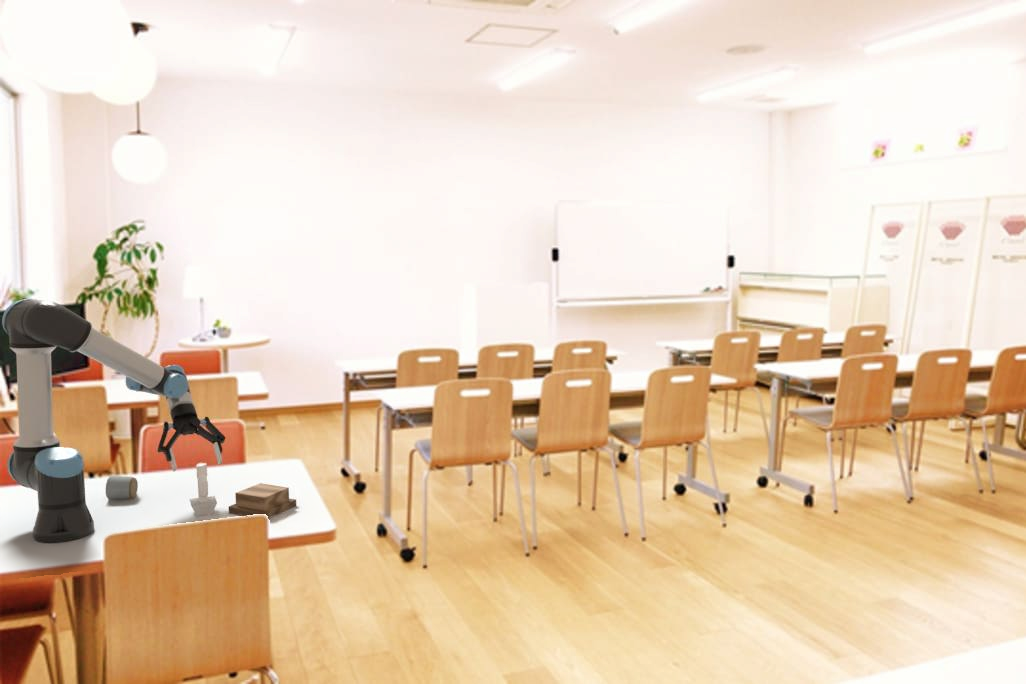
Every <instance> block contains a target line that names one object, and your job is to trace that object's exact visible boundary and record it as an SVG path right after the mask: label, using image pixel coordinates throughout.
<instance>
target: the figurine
mask: <svg viewBox="0 0 1026 684" xmlns="http://www.w3.org/2000/svg"><path fill="white" fill-rule="evenodd" d="M195 468H196V479H197V491H198V493H197V494H198V497H196V498H189V502H190V506H191V508H192V510H193V511H194V514H195V515H196V516H198V517H199V516H207V515H212V514H213V513H214V511H215V509H216V506H217V505H218V501H217V498H216V496H215V495H212V496H209V483H208V482H209V481H208V464H207V463H206V462H198V463H196V465H195Z"/></svg>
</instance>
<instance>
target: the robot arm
mask: <svg viewBox="0 0 1026 684" xmlns="http://www.w3.org/2000/svg"><path fill="white" fill-rule="evenodd" d="M1 325H2V328H3V330H4V331H5V333H6V334H7V335H8V336H9V349H10V350H12V352H14V353H15V354H16V376H17V377H16V378H17V379H16V382H17V384H16V385H17V409H18V410H17V411H18V435H19V436H18V438H17V439H16V440H15V441H14V442H13V445H12V450H13V451H12V453H10V455H9V458H8V461H7V471H8V472H7V473H8V474H9V476H10V477H11V478H12V480H14V481H15V483H17V484H19V485H20V486H22V487H24V488H28V489H31V490H34V491H36V492H37V504H38V511H37V514H36V515H37V516H36V518H35V522H34V526H33V528H32V529H33V530H32V536H33V540H35V541H37V542H40V543H60V542H61V543H62V542H69V541H73V540H78V539H80V538H83V537H87V536H88V535H90V534H92V533H93V532H94V530H95V522H94V519H93V517H92V515H91V512H90V510H89V507H88V506H87V504H86V503H87V501H86V487H85V484H86V483H85V470H84V469H85V462H84V459H83V454H82V453H81V451H79V450H77V449H76V448H72V447H63V446H60V445H61V444H60V443H61V442H60V439H59V438H58V437H56V436H55V435H54V414H53V413H54V409H53V385H52V384H53V377H52V352H53V351H54V350H55V349H56V348H57V347H60V348H62V349H64V350H66V351H68V352H70V353H75V352H78V353H80V354H82V355H84V356H85V357H86V356H87V357H88V358H90V359H92V360H94V361H96V362H98V363H99V364H101V365H104V366H106V367H107V368H108V369H111V370H113V371H115V372H117V373H119V374H121V375H122V376H124V377H125V386H126V387H127V389H128V390H130V391H136V392H141V393H148V394H151V395H157V396H162V397H165V400H166V402H167V406H168V409H169V413H170V418H171V421H172V423H171V422H168V421H164V422H163V426H162V429H163V430H162V435H161V438H160V440H159V443H158V447H157V449H156V450H157V452H158V453H163V454H164V456H165V460H166V462H170V465H171V470H172V472H176V471H177V468H178V466H177V461H176V457H175V454H174V451H173V450H174V449H173V448H172V447H173V446H174V444H175V442H176V441H177V440H178V439H179V437H180V435H182V436H188V435H194V434H196V435H198V436H200V437H202V438H203V439H205V440H207V441H208V442H210V444H212V445H213V446H212V447H213V451H214V454H215V457H216V462H217V465H222V462H223V457H222V454H223V446H222V444H224V443H225V440H226V436H225V435H224V434H223V433H222V432H221V431H220V430H219V429H218V428H217V427H216V426H215V425H214V424H213V423H212V422H211V420H210V418H209V417H208V416H205V417H204V418H202V419H199V417H198V414H197V410H196V407H195V404H194V400H193V397H192V394H191V391H190V386H189V380H188V377H187V375H186V373H185V370H184V368H183V367H182V366H181V365H177V364H172V365H171V364H170V365H167V366H165V367H163V366H162V365H160V364H158V363H157V362H154V361H153V360H151V359H149V358H147V357H146V356H144V355H142V354H141V353H138V352H137V351H135V350H133V349H131V348H129V347H128V346H126V345H124V344H122V343H121V342H119V341H117V340H115V339H114V338H112V337H109V336H108V335H106V334H104V333H102V332H100V331H99V330H97V329H95V328H93V324H92V322H90V321H89V320H87V319H84V318H83V317H82V316H80V315H79V314H76V313H75V312H73V311H72V310H70V309H68V308H66V307H65V306H64V305H61V304H60V303H57V302H54V301H50V300H42V299H41V300H39V299H35V298H34V299H33V298H27V299H20V300H17V301H15V302H13V303H11V304H9V306H8V307H6V309H5V310H4V312H3V315H2V319H1ZM205 428H206V429H205ZM171 429H173V430H174V431H175V432H174V433H173V435H172V436H171V438H170V439H169V440H168V442H167V444H166V445H165V443H166V442H165V441H166V438H167V435H168V432H169V431H171Z"/></svg>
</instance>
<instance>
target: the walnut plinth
mask: <svg viewBox="0 0 1026 684" xmlns="http://www.w3.org/2000/svg"><path fill="white" fill-rule="evenodd" d="M295 507H297V499H295V498H290V488H289V487H288V486H287V487H285V486H280V485H275V484H268V483H261V482H260V483H257V484H255V485H252V486H249V487H247V488H245V489H242V490H240V491H236V492H235V503H234V504H232V505H229V506H228V514H232V515H238V516H242V517H245V516H244V515H253V514H266V515H267V516H268V519H271V518H272V517H274V516H277V515H279V514H281V513H283V512H286V511H288V510H291V509H293V508H295Z"/></svg>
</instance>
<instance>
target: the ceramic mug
mask: <svg viewBox="0 0 1026 684" xmlns="http://www.w3.org/2000/svg"><path fill="white" fill-rule="evenodd" d="M138 485H139V482H138V480H137V477H133V476H125V475H124V476H122V475H110V476H109V477H108V478H107V480H106V484H105V496H106V498H107V499H108V500H131V499H134V497H136V495H137V493H138Z"/></svg>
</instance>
